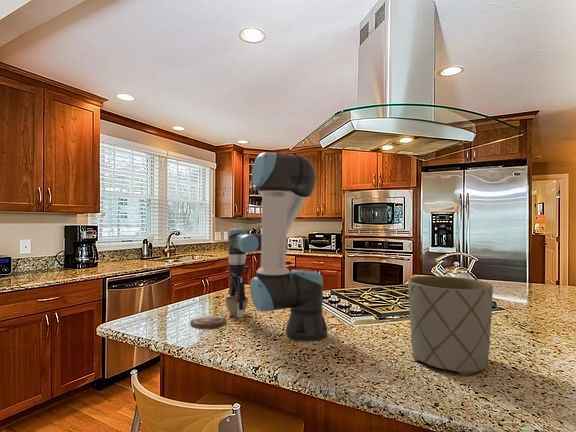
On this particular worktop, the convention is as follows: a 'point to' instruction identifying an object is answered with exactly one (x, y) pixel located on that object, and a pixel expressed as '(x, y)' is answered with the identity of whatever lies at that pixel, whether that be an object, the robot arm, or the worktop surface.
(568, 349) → the worktop surface
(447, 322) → the planter
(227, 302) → the flower pot
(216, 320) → the disc
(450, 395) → the worktop surface
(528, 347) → the worktop surface
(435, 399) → the worktop surface
